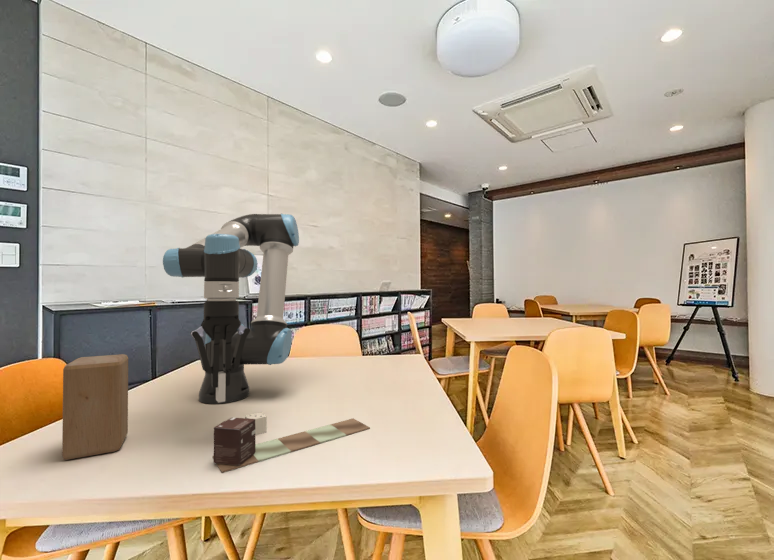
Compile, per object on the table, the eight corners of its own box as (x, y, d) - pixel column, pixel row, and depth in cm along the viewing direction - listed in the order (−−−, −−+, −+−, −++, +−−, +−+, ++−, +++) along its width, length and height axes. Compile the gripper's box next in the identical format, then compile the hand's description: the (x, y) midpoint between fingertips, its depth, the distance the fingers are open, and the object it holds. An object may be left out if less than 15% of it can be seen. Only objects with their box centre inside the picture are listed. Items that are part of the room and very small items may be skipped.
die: (245, 431, 90) (245, 415, 90) (261, 427, 92) (261, 411, 92) (249, 436, 86) (249, 419, 86) (266, 432, 89) (266, 416, 89)
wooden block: (60, 462, 74) (61, 365, 74) (75, 443, 83) (76, 356, 83) (120, 452, 78) (121, 360, 79) (128, 435, 87) (129, 353, 88)
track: (212, 457, 76) (212, 455, 76) (353, 419, 97) (353, 418, 97) (221, 473, 69) (221, 471, 69) (370, 428, 91) (370, 427, 91)
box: (239, 466, 71) (239, 429, 71) (212, 464, 72) (212, 427, 72) (256, 452, 77) (256, 418, 77) (231, 450, 78) (231, 416, 78)
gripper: (193, 300, 78) (192, 410, 77) (254, 299, 86) (253, 399, 85) (187, 300, 84) (186, 402, 83) (245, 299, 92) (244, 392, 91)
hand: (220, 400), depth 84 cm, fingers closed
